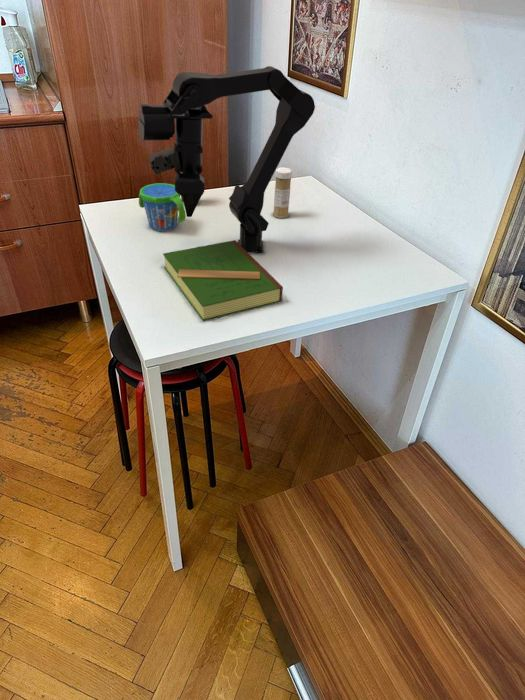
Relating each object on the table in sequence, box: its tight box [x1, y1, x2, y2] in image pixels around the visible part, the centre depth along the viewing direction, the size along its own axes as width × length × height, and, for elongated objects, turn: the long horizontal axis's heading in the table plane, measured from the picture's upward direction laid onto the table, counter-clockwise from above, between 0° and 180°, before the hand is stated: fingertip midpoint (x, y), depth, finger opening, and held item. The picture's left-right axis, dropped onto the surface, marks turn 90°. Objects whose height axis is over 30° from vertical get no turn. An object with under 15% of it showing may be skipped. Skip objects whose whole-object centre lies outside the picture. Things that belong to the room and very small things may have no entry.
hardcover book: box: [162, 239, 284, 322], centre depth 115 cm, size 25×19×4 cm
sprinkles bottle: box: [272, 166, 293, 219], centre depth 144 cm, size 5×5×13 cm
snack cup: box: [138, 182, 187, 232], centre depth 136 cm, size 16×10×10 cm
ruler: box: [178, 269, 260, 280], centre depth 112 cm, size 3×18×1 cm, turn 91°
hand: (188, 208), depth 119 cm, fingers open, 9 cm apart
